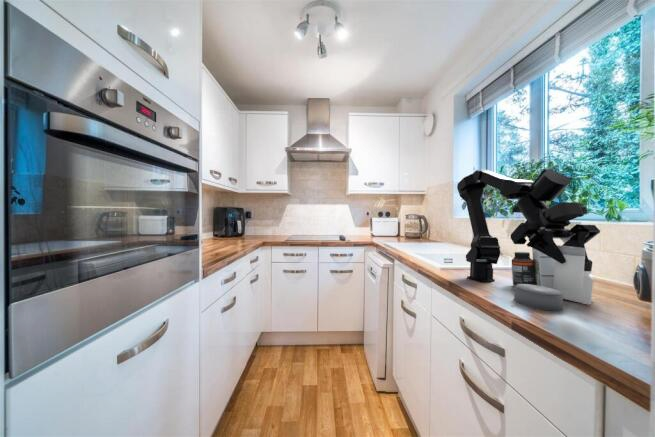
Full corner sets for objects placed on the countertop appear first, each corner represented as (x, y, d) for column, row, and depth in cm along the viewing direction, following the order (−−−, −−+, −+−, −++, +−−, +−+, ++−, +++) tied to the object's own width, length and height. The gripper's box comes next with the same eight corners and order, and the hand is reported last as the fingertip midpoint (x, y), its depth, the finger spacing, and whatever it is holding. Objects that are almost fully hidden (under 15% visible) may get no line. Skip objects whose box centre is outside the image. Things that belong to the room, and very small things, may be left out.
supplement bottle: (524, 284, 87) (523, 251, 87) (540, 288, 81) (538, 252, 81) (508, 285, 86) (506, 251, 87) (523, 289, 80) (521, 253, 81)
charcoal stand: (505, 299, 71) (506, 285, 71) (528, 295, 75) (529, 282, 75) (547, 312, 62) (548, 296, 62) (571, 308, 65) (572, 292, 65)
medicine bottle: (590, 299, 73) (595, 258, 72) (590, 305, 68) (596, 261, 67) (556, 292, 78) (561, 253, 77) (555, 297, 73) (559, 256, 72)
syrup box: (564, 293, 76) (562, 244, 76) (539, 291, 78) (537, 244, 79) (555, 288, 81) (553, 243, 82) (533, 287, 83) (531, 243, 84)
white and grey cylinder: (548, 286, 62) (551, 245, 61) (560, 285, 63) (563, 245, 63) (574, 293, 57) (578, 249, 56) (587, 291, 59) (590, 248, 58)
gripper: (521, 190, 63) (561, 240, 52) (594, 192, 63) (648, 242, 53) (497, 220, 71) (527, 269, 60) (562, 222, 72) (603, 270, 61)
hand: (575, 262), depth 58 cm, fingers closed on white and grey cylinder, 5 cm apart
